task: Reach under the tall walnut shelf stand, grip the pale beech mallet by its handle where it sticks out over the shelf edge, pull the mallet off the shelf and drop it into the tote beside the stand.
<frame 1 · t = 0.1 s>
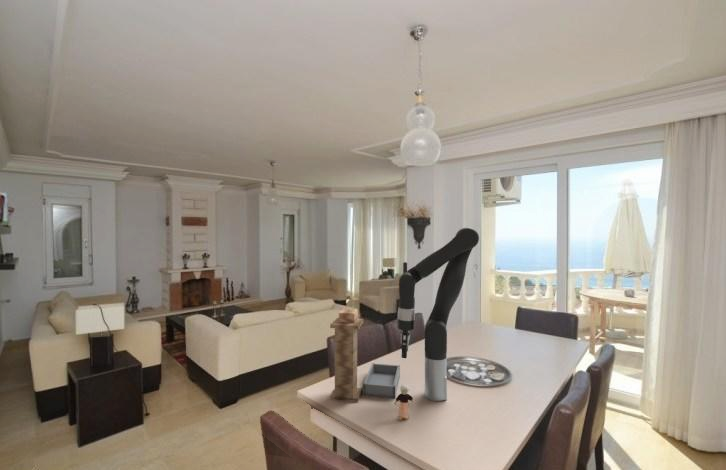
hand: (404, 354, 148), 17 cm above the table, tool pointing down, fingers open, 8 cm apart
grandmother figurine: (404, 418, 129), on the table
tote: (382, 384, 157), on the table
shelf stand: (347, 394, 147), on the table
mallet: (351, 317, 155), point 32 cm above the table, touching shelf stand
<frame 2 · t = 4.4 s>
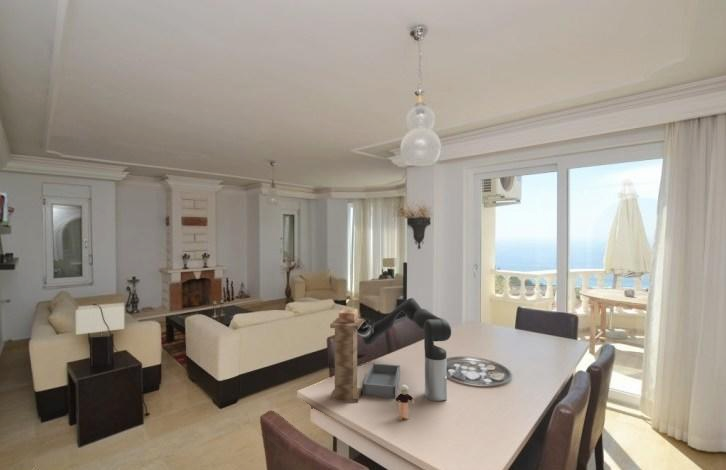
hand: (357, 319, 169), 27 cm above the table, tool pointing upward, fingers open, 8 cm apart
nothing on the table moved.
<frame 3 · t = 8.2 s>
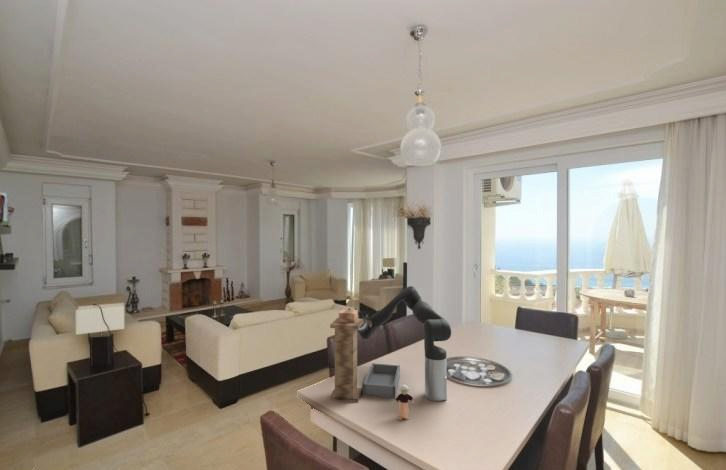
hand: (352, 310, 157), 35 cm above the table, tool pointing upward, fingers closed on mallet, 2 cm apart
mallet: (351, 317, 155), point 32 cm above the table, touching gripper, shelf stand
everything else where it was.
when the fingers open (26 cm above the table, at t = 15.4 s): mallet drops 22 cm, resting on tote.
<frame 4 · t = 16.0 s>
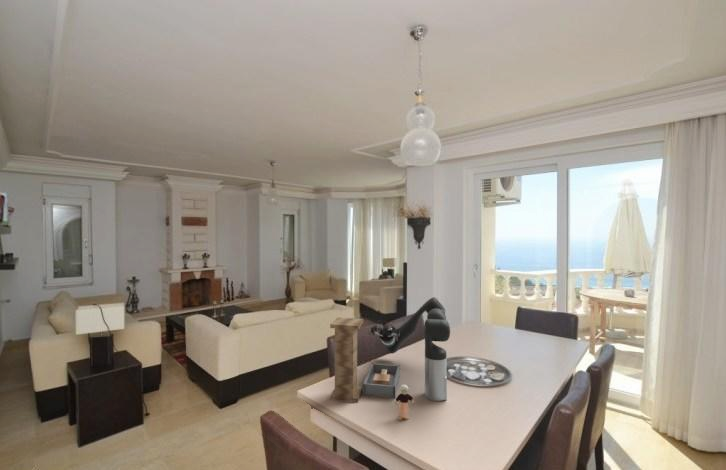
hand: (383, 328, 161), 25 cm above the table, tool pointing upward, fingers open, 8 cm apart
mallet: (383, 380, 159), point 1 cm above the table, touching tote
everything else where it was.
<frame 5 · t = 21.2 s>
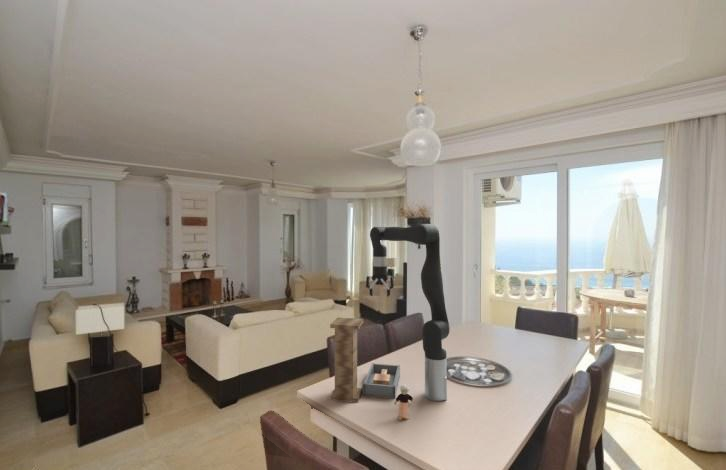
hand: (379, 296, 175), 38 cm above the table, tool pointing down, fingers open, 8 cm apart
nothing on the table moved.
at the end: mallet inside the target area on the tote (2.5 cm from its centre), point 1.0 cm above the tote's base; mallet touching tote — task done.
